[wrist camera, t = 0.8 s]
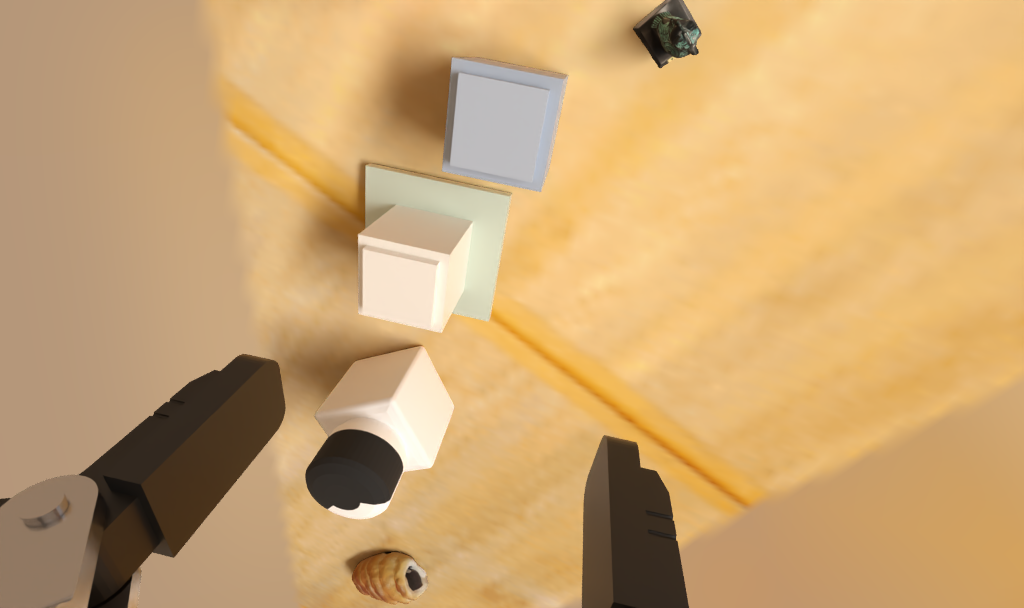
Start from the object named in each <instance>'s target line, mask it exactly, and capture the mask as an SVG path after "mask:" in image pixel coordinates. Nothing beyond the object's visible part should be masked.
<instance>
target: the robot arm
mask: <svg viewBox="0 0 1024 608" xmlns="http://www.w3.org/2000/svg"><path fill="white" fill-rule="evenodd" d="M284 414H285V400H284V394H283V388H282V381H281V375H280V369H279V365H278V363H277V362H276V361H274V360H270V359H265V358H261V357H256V356H252V355H247V354H242V355H239V356H238V357H236V358H235V359H234V360H233V361H232V362H230V363H229V364H228V365H227V366H226V367H225V368H224V369H222V370H221V371H217V370H214V371H212V372H210V373H207V374H206V375H203V376H201V377H199V378H197V379H195V380H193V381H191V382H189V383H188V384H187V385H186V386H185V387H183V388H182V389H181V390H180V391H179V392H178V393H176V394H175V395H174V396H173V397H172V398H170V401H169V402H166V403H164V404H163V405H162V406H161V407H160V408H159V409H157V410H156V411H155V412H154V415H153V416H149V417H148V418H147V419H145V420H144V421H143V422H142V423H141V424H139V425H138V426H137V427H136V428H135V429H134V430H132V431H131V432H130V433H129V434H128V435H126V436H125V437H124V438H123V439H122V440H120V441H119V442H118V443H117V444H116V445H115V446H113V447H112V448H111V449H110V450H109V451H107V452H106V453H105V454H104V455H103V456H101V457H100V458H99V459H98V460H97V461H96V462H94V463H93V464H92V465H91V466H90V467H88V468H87V469H86V470H85V471H84V472H82V473H81V474H79V475H67V476H60V477H55V478H52V479H48V480H45V481H43V482H40V483H37V484H35V485H33V486H31V487H29V488H27V489H25V490H24V491H22V492H20V493H18V494H17V495H15V496H14V497H12V498H6V499H0V608H137V606H138V597H139V590H140V583H141V567H140V566H141V564H142V563H143V562H144V561H145V560H146V559H147V558H148V556H149V555H150V554H151V553H152V552H153V553H157V554H162V555H165V556H170V557H175V556H176V555H177V553H178V552H179V551H180V550H181V548H182V547H183V546H184V545H185V543H186V542H187V541H188V540H189V539H190V537H191V536H192V535H193V534H194V532H195V531H196V530H197V529H198V527H199V526H200V525H201V524H202V523H203V521H204V520H205V519H206V518H207V516H208V515H209V514H210V513H211V511H212V510H213V509H214V508H215V507H216V505H217V504H218V503H219V502H220V500H221V499H222V498H223V497H224V495H225V494H226V493H227V492H228V490H229V489H230V488H231V487H232V486H233V484H234V483H235V482H236V481H237V479H238V478H239V477H240V476H241V475H242V473H243V472H244V471H245V470H246V468H247V467H248V466H249V465H250V463H251V462H252V461H253V460H254V459H255V457H256V456H257V455H258V453H259V452H260V451H261V450H262V449H263V447H264V446H265V445H266V444H267V443H268V441H269V440H270V439H271V438H272V436H273V435H274V434H275V433H276V431H277V430H278V429H279V427H280V425H281V423H282V421H283V418H284ZM582 608H689V606H688V600H687V594H686V588H685V582H684V576H683V571H682V565H681V559H680V553H679V548H678V542H677V541H676V530H675V524H674V521H673V513H672V507H671V501H670V496H669V492H668V490H667V489H666V487H665V485H664V483H663V482H662V480H661V478H660V476H659V475H658V473H657V471H654V470H649V469H645V468H641V467H640V458H639V450H638V445H637V443H636V442H632V441H628V440H623V439H619V438H614V437H610V436H605V435H604V436H603V438H602V440H601V442H600V445H599V448H598V451H597V453H596V456H595V459H594V461H593V464H592V467H591V470H590V472H589V475H588V478H587V482H586V487H585V494H584V515H583V575H582Z"/></svg>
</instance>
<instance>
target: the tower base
mask: <svg viewBox="0 0 1024 608" xmlns="http://www.w3.org/2000/svg"><path fill="white" fill-rule="evenodd" d="M511 196H512V193H508V192H503V191H498V190H494V189H489V188H484V187H480V186H475V185H470V184H466V183H461V182H456V181H452V180H447V179H442V178H438V177H433V176H429V175H424V174H419V173H415V172H410V171H405V170H401V169H396V168H391V167H387V166H382V165H377V164H373V163H370V164H368V165H366V170H365V229H364V230H363V231H362V232H361V233H359V234H358V314H361V315H365V316H370V317H374V318H378V319H383V320H387V321H392V322H396V323H400V324H405V325H409V326H413V327H418V328H422V329H426V330H431V331H435V332H439V333H442V331H443V329H444V327H445V325H446V323H447V321H448V319H449V317H450V316H451V314H452V313H453V314H458V315H462V316H467V317H471V318H475V319H480V320H484V321H489V319H490V317H491V311H492V305H493V300H494V294H495V288H496V282H497V277H498V271H499V265H500V259H501V254H502V248H503V242H504V237H505V231H506V225H507V219H508V214H509V208H510V202H511Z"/></svg>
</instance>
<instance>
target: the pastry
mask: <svg viewBox="0 0 1024 608" xmlns="http://www.w3.org/2000/svg"><path fill="white" fill-rule="evenodd" d="M352 581H353V582H354V584H355V585H356V588H357V589H358V590H359V592H361V593H362V594H364V595H370V596H371V597H372V598H375V599H377V600H382V601H385V602H387V603H390V604H394V605H395V604H397V603H398V602H400V603H403V604H408V603H409V602H411V601H412V600H416V599H417V598H418V597H419V596H421V595H422V594H423V592H424V591H425V590H426V589H427V587H428V580H427V576H426V572H425V570H424V569H423V568H421V567H420V566H419V565H418V564H417V563H416V562H415V561H414V560H413V559H412V558H411V557H410V556H408V555H405V554H404V553H400V552H391V553H389V554H385V553H380V554H378V555H374V556H372V557H369V558H366V559H364V560H362V561H361V562H360V563H359V564H358V565H357V566H356V568H355V570H354V572H353V575H352Z"/></svg>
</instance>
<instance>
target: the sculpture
mask: <svg viewBox="0 0 1024 608" xmlns="http://www.w3.org/2000/svg"><path fill="white" fill-rule="evenodd" d="M633 30H634V31H635V32H636V34H637V36H638V37H639V38H640V39H641V41H642V43H643V44H644V45H645V47H646V48H647V50H648V51H649V53H650V54H651V56H652V58H653V60H654V61H655V62H656V64H657V65H658V67H659V68H662V67H663V66H664V65H666V64H668V63H669V62H671V61H672V60H673V59H674V58H682V57H685V56H687V55H689V54H692V55H697V54H698V53H699V52H698V49H697V48H696V43H697V39H698V38H699V37H700V36H701V31H700V29H699V28H698V26H697V24H696V22H695V21H694V19H693V17H692V15H691V13H690V12H689V10H688V8H687V6H686V5H685V3H684V1H683V0H665V1H664V2H663V3H662V4H660V5H659V6H658V7H656V8H655V9H654V10H653V11H652V12H651V13H650V14H648V15H647V16H646V17H645V18H644V19H643V20H641V21H640V22H639V23H638V24H637V25H636V26H635V27H634V28H633Z"/></svg>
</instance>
